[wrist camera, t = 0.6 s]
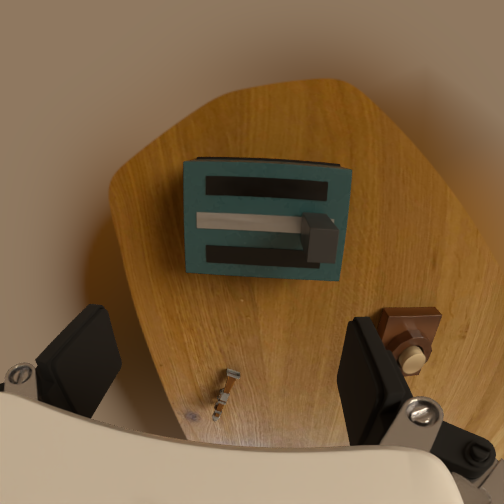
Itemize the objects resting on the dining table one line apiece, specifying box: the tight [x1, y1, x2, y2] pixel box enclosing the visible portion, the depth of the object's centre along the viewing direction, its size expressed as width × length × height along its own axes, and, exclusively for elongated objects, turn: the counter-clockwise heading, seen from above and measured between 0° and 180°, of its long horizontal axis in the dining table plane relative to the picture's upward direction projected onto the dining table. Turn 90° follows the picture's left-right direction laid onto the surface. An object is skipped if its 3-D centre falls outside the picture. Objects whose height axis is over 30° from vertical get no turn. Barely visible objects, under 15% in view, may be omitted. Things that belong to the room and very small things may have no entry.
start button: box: [399, 346, 426, 374], centre depth 31 cm, size 3×3×2 cm
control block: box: [377, 307, 442, 376], centre depth 33 cm, size 10×8×4 cm
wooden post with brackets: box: [212, 369, 240, 421], centre depth 38 cm, size 2×8×4 cm, turn 159°
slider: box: [300, 212, 339, 264], centre depth 22 cm, size 2×2×5 cm
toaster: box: [183, 157, 352, 281], centre depth 28 cm, size 10×14×6 cm
